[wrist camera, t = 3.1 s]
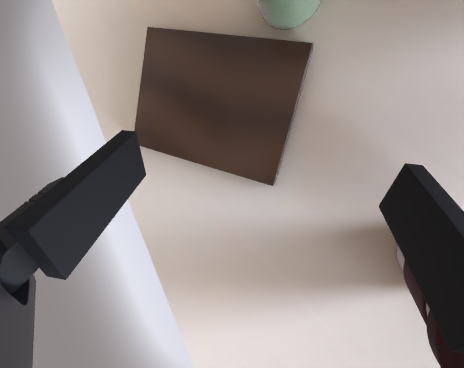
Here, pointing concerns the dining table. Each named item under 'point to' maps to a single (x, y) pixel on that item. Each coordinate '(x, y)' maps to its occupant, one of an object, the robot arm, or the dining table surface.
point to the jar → (287, 12)
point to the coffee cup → (430, 322)
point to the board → (220, 99)
